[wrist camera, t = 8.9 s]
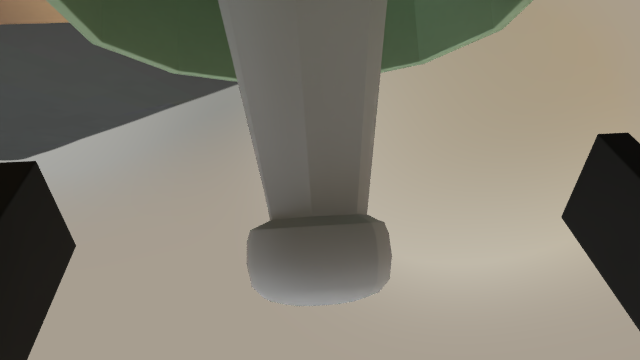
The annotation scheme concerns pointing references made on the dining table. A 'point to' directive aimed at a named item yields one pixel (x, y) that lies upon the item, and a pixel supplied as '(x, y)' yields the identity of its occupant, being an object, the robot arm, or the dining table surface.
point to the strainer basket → (212, 45)
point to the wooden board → (28, 12)
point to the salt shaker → (312, 144)
